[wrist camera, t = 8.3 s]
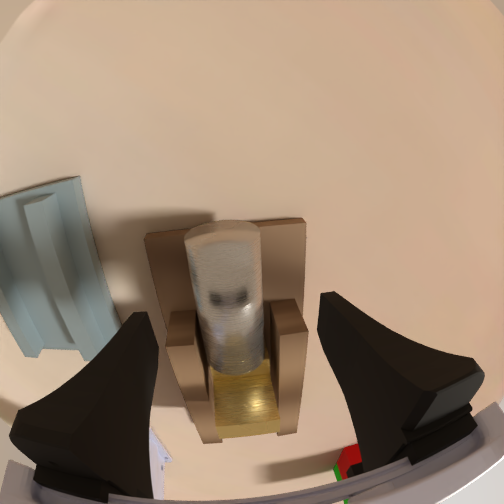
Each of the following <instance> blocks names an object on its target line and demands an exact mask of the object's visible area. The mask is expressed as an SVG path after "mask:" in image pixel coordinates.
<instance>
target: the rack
mask: <svg viewBox="0 0 504 504" xmlns="http://www.w3.org/2000/svg"><path fill="white" fill-rule="evenodd" d="M0 313H1V315H2V317H3V319H4V320H5V322H6V324H7V326H8V328H9V330H10V332H11V333H12V335H13V337H14V339H15V341H16V342H17V344H18V346H19V347H20V349H21V351H22V352H23V354H24V356H25V357H33V358H38V356H39V354H40V352H41V350H42V349H61V350H79V352H80V353H81V355H82V357H83V359H84V361H91V360H92V359H93V358H94V357H95V356H96V355H97V354H98V353H99V352H100V351H101V350H102V349H103V347H104V346H105V345H106V344H107V343H108V342H109V341H110V340H111V338H112V337H113V336H114V335H115V334H116V333H117V331H118V330H119V329H120V328H121V327H122V325H121V322H120V320H119V317H118V314H117V312H116V309H115V306H114V303H113V301H112V298H111V295H110V292H109V289H108V286H107V283H106V280H105V277H104V273H103V270H102V267H101V263H100V260H99V257H98V253H97V249H96V246H95V242H94V238H93V234H92V230H91V226H90V222H89V218H88V214H87V209H86V205H85V200H84V195H83V190H82V185H81V179H80V176H78V177H73V178H69V179H65V180H61V181H57V182H53V183H49V184H45V185H42V186H38V187H34V188H31V189H27V190H24V191H21V192H17V193H14V194H11V195H8V196H4V197H1V198H0Z"/></svg>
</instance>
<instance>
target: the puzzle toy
mask: <svg viewBox="0 0 504 504" xmlns="http://www.w3.org/2000/svg"><path fill="white" fill-rule="evenodd" d="M333 470H334V473H335V476H336V479H337V481H341V480H344V479H348V478H351V477H354V476H357V475H360V474H363V473H364V470H363V464H362V459H361V454H360V449H359V445H358V444H355V445H351V446H348V447H344V449H343V451H342V453H341V455H340V457H339V459H338V461H337V463H336V465H335V467H334V469H333ZM343 501H344V504H347V503H348V502H347V501H348V499H346V500H343Z"/></svg>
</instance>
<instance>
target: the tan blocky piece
mask: <svg viewBox="0 0 504 504" xmlns="http://www.w3.org/2000/svg"><path fill="white" fill-rule="evenodd" d="M264 340H265V338H264ZM210 369H211V373H212V377H213V388H214V409H215V426H216V430H217V433H218V436H219V439H223V438H235V437H244V436H253V435H261V434H268V433H275V432H280V416H279V411H278V407H277V403H276V399H275V394H274V390H273V386H272V381H271V377H270V362H269V355H268V351H267V347H266V342H265V357H264V360H263V362H262V363H261V365H260V366H259V367H258V368H256V369H255V370H253V371H251V372H249V373H246V374H243V375H225V374H222V373H219V372H217V371H216V370H214V369H213V368H212V367H211V366H210Z"/></svg>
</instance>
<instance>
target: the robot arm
mask: <svg viewBox="0 0 504 504" xmlns="http://www.w3.org/2000/svg"><path fill="white" fill-rule="evenodd" d="M317 332H318V335H319V338H320V342H321V345H322V348H323V351H324V353H325V355H326V357H327V359H328V361H329V364H330V366H331V368H332V370H333V372H334V374H335V376H336V378H337V380H338V383H339V385H340V387H341V389H342V391H343V394H344V396H345V399H346V402H347V405H348V409H349V412H350V415H351V418H352V422H353V426H354V429H355V433H356V437H357V441H358V445H359V449H360V454H361V459H362V464H363V470H364V473H363V474H360V475H357V476H354V477H351V478H348V479H344V480H341V481H337V482H334V483H330V484H326V485H322V486H318V487H314V488H309V489H305V490H300V491H295V492H289V493H283V494H277V495H271V496H263V497H255V498H246V499H234V500H216V501H175V500H164V469H165V462H172V458H171V457H170V455H169V454H168V453H167V451H166V450H165V448H164V447H163V446H162V444H161V443H160V441H159V440H158V438H157V437H156V435H155V434H154V432H153V431H152V429H151V428H150V427H149V423H150V411H151V405H152V399H153V393H154V387H155V381H156V375H157V370H158V354H159V346H158V344H157V341H156V338H155V335H154V332H153V329H152V326H151V323H150V320H149V316H148V313H147V312H133V314H132V315H131V316H130V317H129V318H128V319H127V321H126V322H125V323H124V324H123V325H122V327H121V328H120V329H119V330H118V331H117V333H116V334H115V335H114V336H113V337H112V338H111V340H110V341H109V342H108V343H107V344H106V345H105V346H104V347H103V349H102V350H101V351H100V352H99V353H98V354H97V355H96V356H95V357H94V358H93V359H92V360H91V361H90V362H89V363H88V364H87V365H86V366H85V367H84V368H83V369H82V370H81V371H80V372H78V373H77V374H76V375H75V376H74V377H72V378H71V379H70V380H68V381H67V382H66V383H64V384H63V385H62V386H61V387H59V388H58V389H56V390H55V391H53V392H52V393H50V394H49V395H47V396H45V397H44V398H42V399H40V400H38V401H37V402H35V403H33V404H31V405H29V406H27V407H25V408H22V409H20V410H18V413H17V415H16V418H15V420H14V423H13V426H12V428H11V431H10V434H9V437H10V440H11V442H12V443H13V444H14V445H15V446H16V447H17V448H18V449H19V450H20V451H21V452H22V453H23V454H25V455H26V456H27V457H28V458H29V459H31V460H32V461H33V462H34V463H36V464H37V465H36V469H35V470H34V469H32V468H30V467H28V466H26V465H23V464H20V463H18V462H15V461H13V460H9V461H8V464H7V468H6V472H5V475H4V480H3V484H2V488H1V492H0V504H332V503H335V502H339V501H342V500H346V499H348V501H347V502H348V503H347V504H439V503H441V502H443V501H444V500H446V499H447V498H449V497H451V496H453V495H454V494H456V493H457V492H459V491H460V490H462V489H464V488H465V487H466V486H468V485H469V484H471V483H472V482H474V481H475V480H477V479H478V478H479V477H481V476H482V475H483V474H485V473H486V472H487V471H489V470H490V469H491V468H492V467H494V466H495V465H496V464H498V463H499V462H500V461H501V460H502V459H503V458H504V413H503V411H502V410H501V408H500V407H499V405H498V404H497V403H496V402H493V403H492V404H490V405H489V406H487V407H486V408H484V409H483V410H481V411H480V412H479V413H477V414H476V415H475V416H474V417H472V415H471V414H470V412H471V411H472V406H471V405H470V403H469V402H470V401H471V399H472V398H473V396H474V395H475V394H476V392H477V391H478V389H479V388H480V386H481V385H482V383H483V380H484V377H485V374H484V372H483V370H482V369H481V368H480V366H479V365H478V364H477V363H476V361H475V360H474V359H473V358H470V357H464V356H459V355H454V354H450V353H446V352H443V351H439V350H436V349H433V348H430V347H427V346H425V345H422V344H420V343H417V342H415V341H412V340H410V339H408V338H406V337H404V336H402V335H400V334H398V333H396V332H394V331H392V330H390V329H389V328H387V327H385V326H384V325H382V324H380V323H379V322H377V321H376V320H374V319H373V318H371V317H370V316H368V315H367V314H365V313H364V312H362V311H361V310H360V309H358V308H357V307H355V306H354V305H353V304H351V303H350V302H349V301H347V300H346V299H344V298H343V297H342V296H340V295H339V294H338V293H336V292H335V291H333V292H326V293H321V295H320V306H319V316H318V325H317Z"/></svg>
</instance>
